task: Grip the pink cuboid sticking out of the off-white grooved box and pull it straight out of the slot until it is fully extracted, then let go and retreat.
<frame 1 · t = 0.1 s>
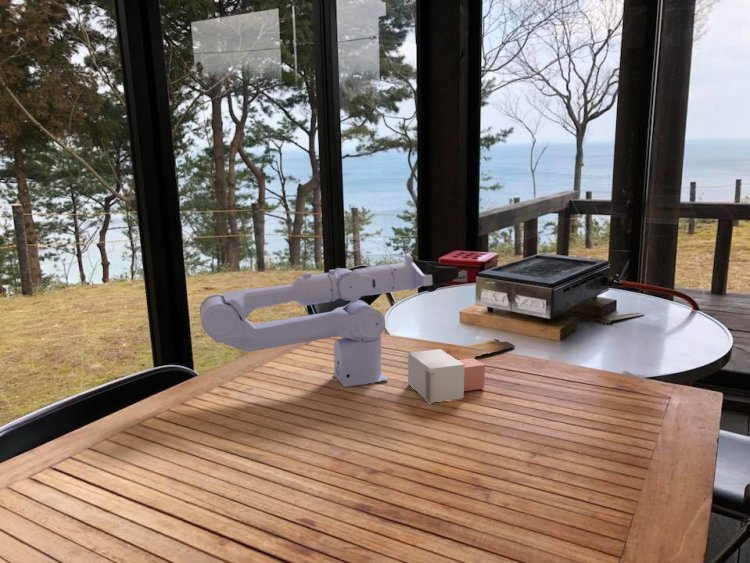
hand: (449, 269, 117), 22 cm above the table, tool horizontal, fingers open, 7 cm apart
pink cuboid: (453, 376, 108), point 3 cm above the table, slide at 0.0 cm
off-white grooved box: (434, 392, 107), on the table
parchment: (472, 353, 132), on the table
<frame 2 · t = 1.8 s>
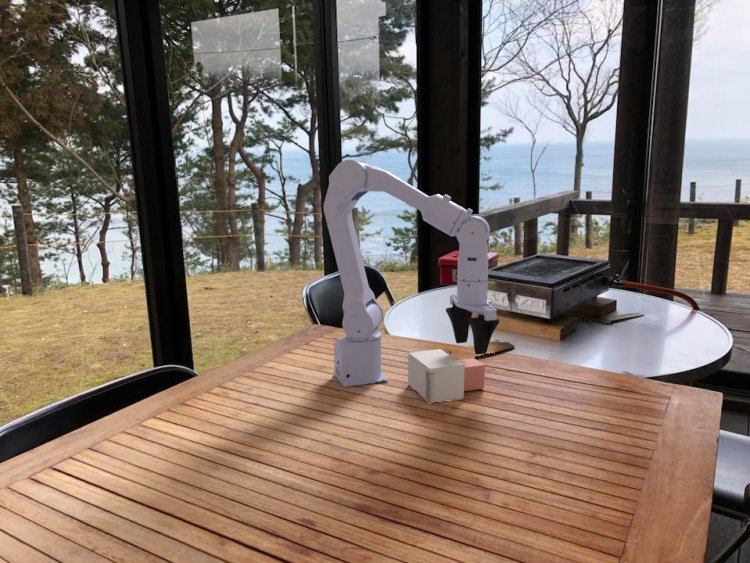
hand: (470, 347, 108), 8 cm above the table, tool pointing down, fingers open, 7 cm apart
nothing on the table moved.
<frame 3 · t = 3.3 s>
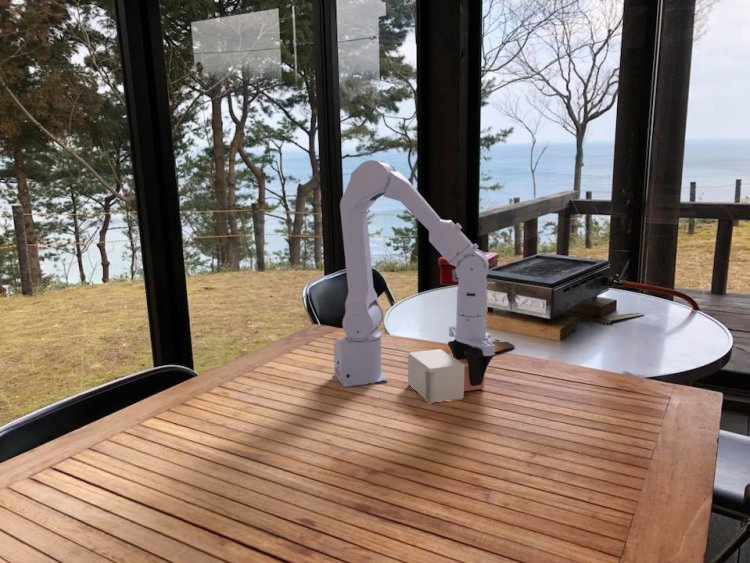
hand: (469, 380, 109), 1 cm above the table, tool pointing down, fingers closed on pink cuboid, 4 cm apart
pink cuboid: (453, 376, 108), point 3 cm above the table, slide at 0.0 cm, touching gripper
everything else where it was.
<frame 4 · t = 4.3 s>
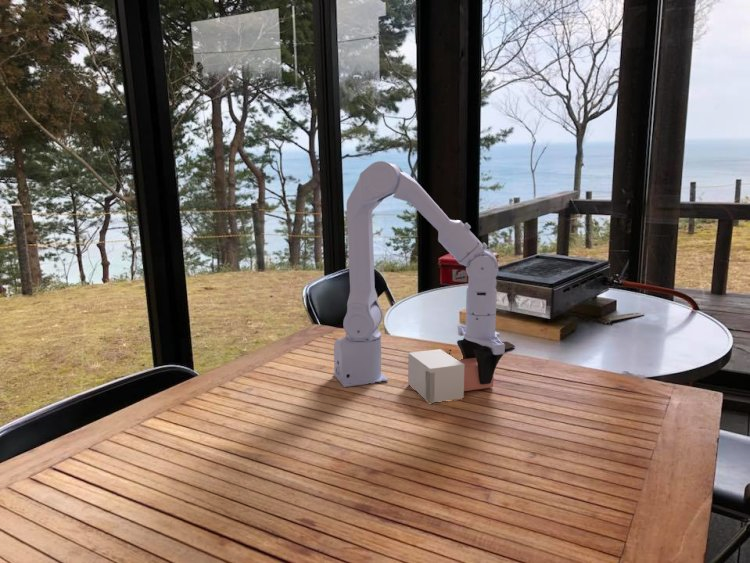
hand: (478, 379, 110), 1 cm above the table, tool pointing down, fingers closed on pink cuboid, 4 cm apart
pink cuboid: (463, 375, 108), point 3 cm above the table, slide at 2.0 cm, touching gripper
everything else where it was.
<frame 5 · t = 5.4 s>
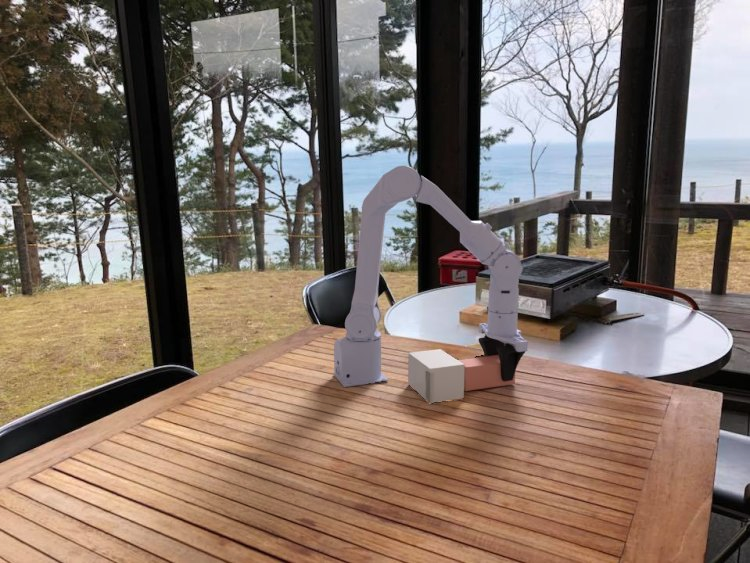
hand: (500, 376, 111), 1 cm above the table, tool pointing down, fingers closed on pink cuboid, 4 cm apart
pink cuboid: (485, 372, 110), point 3 cm above the table, slide at 7.0 cm, touching gripper
everything else where it was.
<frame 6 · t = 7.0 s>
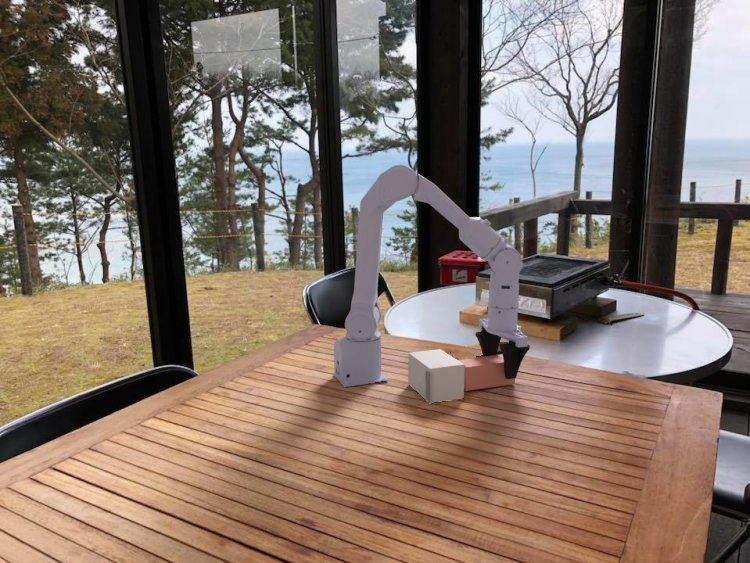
hand: (500, 371, 111), 2 cm above the table, tool pointing down, fingers open, 7 cm apart
pink cuboid: (485, 372, 110), point 3 cm above the table, slide at 7.0 cm
everything else where it was.
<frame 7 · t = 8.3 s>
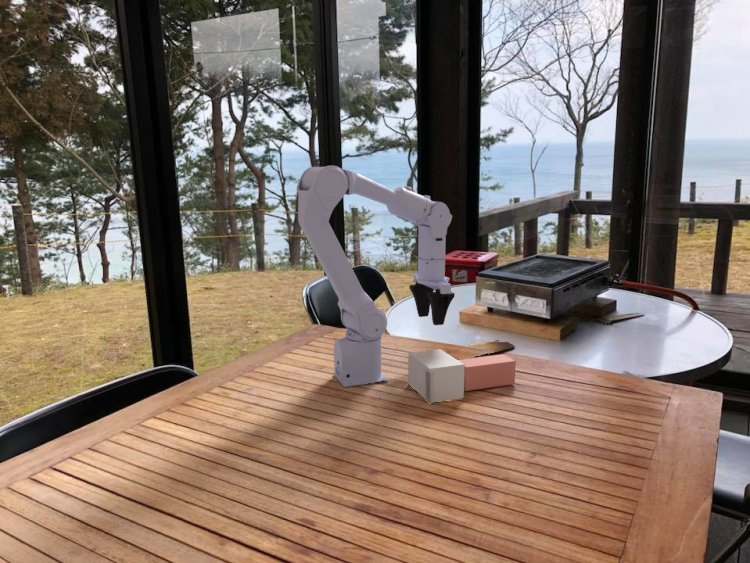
hand: (430, 320, 120), 10 cm above the table, tool pointing down, fingers open, 7 cm apart
nothing on the table moved.
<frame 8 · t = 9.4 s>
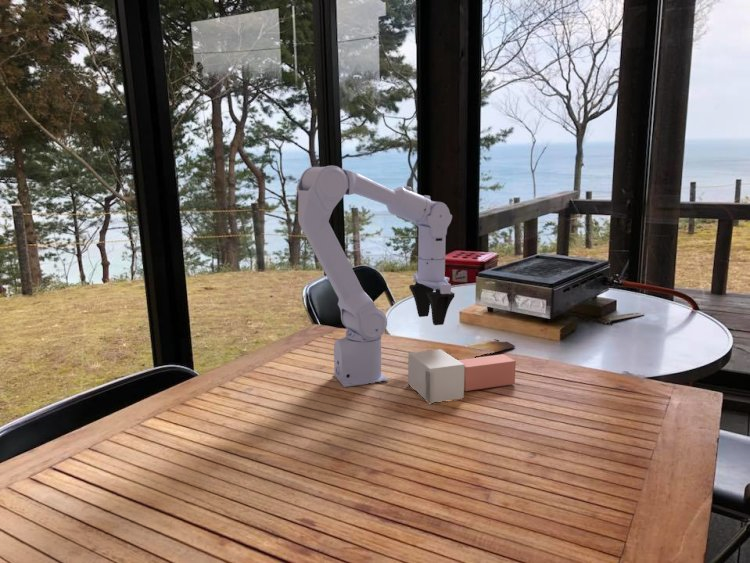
hand: (430, 320, 120), 10 cm above the table, tool pointing down, fingers open, 7 cm apart
nothing on the table moved.
at the end: pink cuboid slide at 7.0 cm; the gripper is holding nothing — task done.
